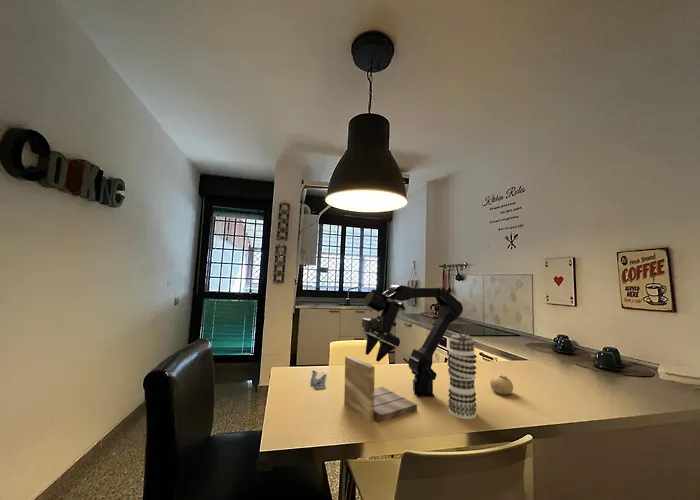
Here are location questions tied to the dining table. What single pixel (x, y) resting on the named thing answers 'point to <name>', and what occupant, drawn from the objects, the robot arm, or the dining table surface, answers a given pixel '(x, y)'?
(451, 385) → the white patterned tower
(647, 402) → the dining table surface
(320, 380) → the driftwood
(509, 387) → the onion
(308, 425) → the dining table surface
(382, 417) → the wooden panel
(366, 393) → the plank
